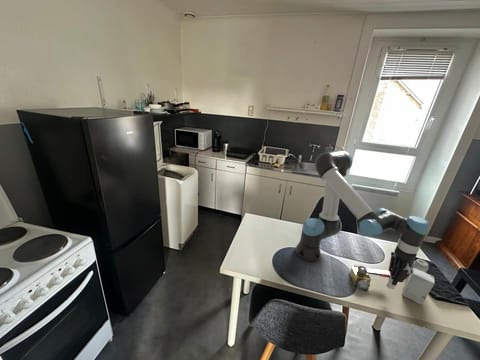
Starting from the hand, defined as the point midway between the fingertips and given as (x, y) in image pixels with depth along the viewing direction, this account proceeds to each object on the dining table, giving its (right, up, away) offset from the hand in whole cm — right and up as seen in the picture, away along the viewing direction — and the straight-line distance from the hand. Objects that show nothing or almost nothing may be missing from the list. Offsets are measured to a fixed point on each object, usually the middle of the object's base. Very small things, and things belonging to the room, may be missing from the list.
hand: (390, 287), depth 100 cm
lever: (-3, +3, +8) cm, 9 cm away
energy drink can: (+20, -4, +11) cm, 24 cm away
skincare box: (+14, -7, +4) cm, 16 cm away
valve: (-9, -2, +11) cm, 15 cm away
